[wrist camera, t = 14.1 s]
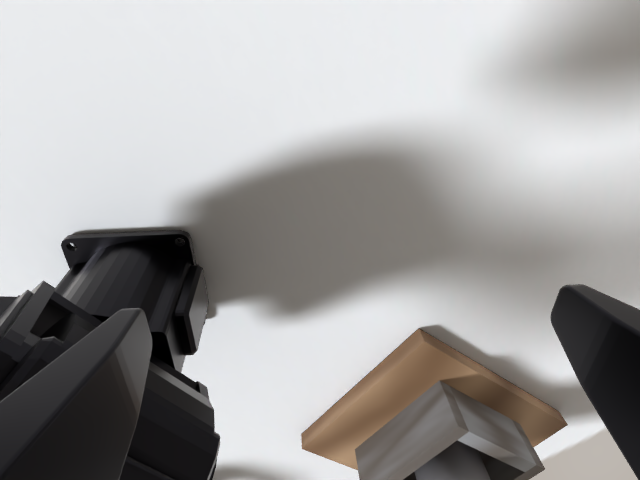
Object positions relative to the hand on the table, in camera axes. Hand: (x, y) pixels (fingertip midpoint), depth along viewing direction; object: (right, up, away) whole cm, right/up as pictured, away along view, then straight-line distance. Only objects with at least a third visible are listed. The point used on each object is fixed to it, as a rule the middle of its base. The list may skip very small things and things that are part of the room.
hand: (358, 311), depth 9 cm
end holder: (+8, -13, +23) cm, 28 cm away
